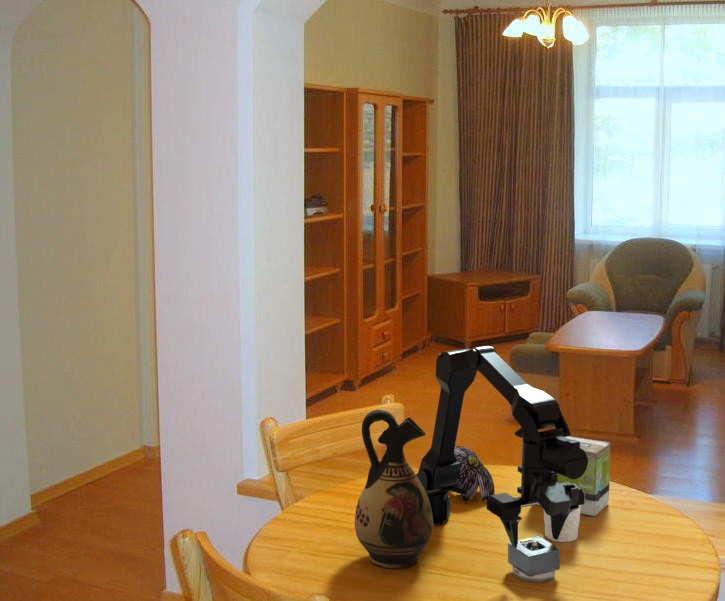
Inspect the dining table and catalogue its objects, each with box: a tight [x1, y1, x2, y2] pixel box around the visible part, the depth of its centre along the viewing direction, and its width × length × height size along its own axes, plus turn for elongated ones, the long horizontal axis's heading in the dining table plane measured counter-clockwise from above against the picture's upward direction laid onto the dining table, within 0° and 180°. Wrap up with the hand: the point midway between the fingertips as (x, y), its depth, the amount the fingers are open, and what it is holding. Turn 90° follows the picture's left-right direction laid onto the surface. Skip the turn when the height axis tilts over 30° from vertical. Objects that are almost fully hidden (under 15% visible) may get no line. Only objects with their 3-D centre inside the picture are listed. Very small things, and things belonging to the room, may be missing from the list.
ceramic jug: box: [346, 409, 434, 570], centre depth 191 cm, size 17×15×30 cm
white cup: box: [543, 505, 581, 543], centre depth 203 cm, size 8×8×10 cm
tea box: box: [536, 435, 611, 517], centre depth 221 cm, size 15×10×15 cm
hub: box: [511, 540, 556, 584], centre depth 186 cm, size 8×8×6 cm
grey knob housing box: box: [507, 535, 561, 577], centre depth 186 cm, size 7×7×4 cm
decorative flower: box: [452, 445, 496, 503], centre depth 228 cm, size 15×12×15 cm
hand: (535, 542), depth 185 cm, fingers open, 9 cm apart
